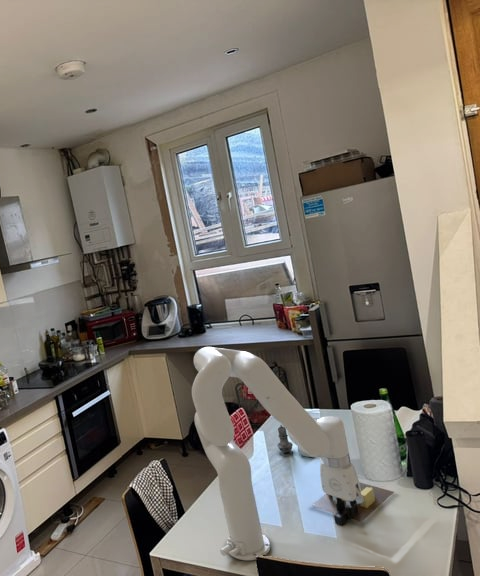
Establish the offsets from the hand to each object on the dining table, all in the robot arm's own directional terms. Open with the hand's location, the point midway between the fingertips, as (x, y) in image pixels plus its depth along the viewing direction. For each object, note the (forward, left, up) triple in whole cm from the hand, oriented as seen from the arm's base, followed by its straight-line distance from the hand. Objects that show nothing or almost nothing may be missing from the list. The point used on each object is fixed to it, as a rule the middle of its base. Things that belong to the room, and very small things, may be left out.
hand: (346, 515), depth 152 cm
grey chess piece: (+28, +41, -2) cm, 49 cm away
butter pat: (+10, -1, -1) cm, 10 cm away
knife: (+5, 0, 0) cm, 5 cm away
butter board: (+10, +4, -2) cm, 11 cm away
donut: (+33, +33, -2) cm, 46 cm away
